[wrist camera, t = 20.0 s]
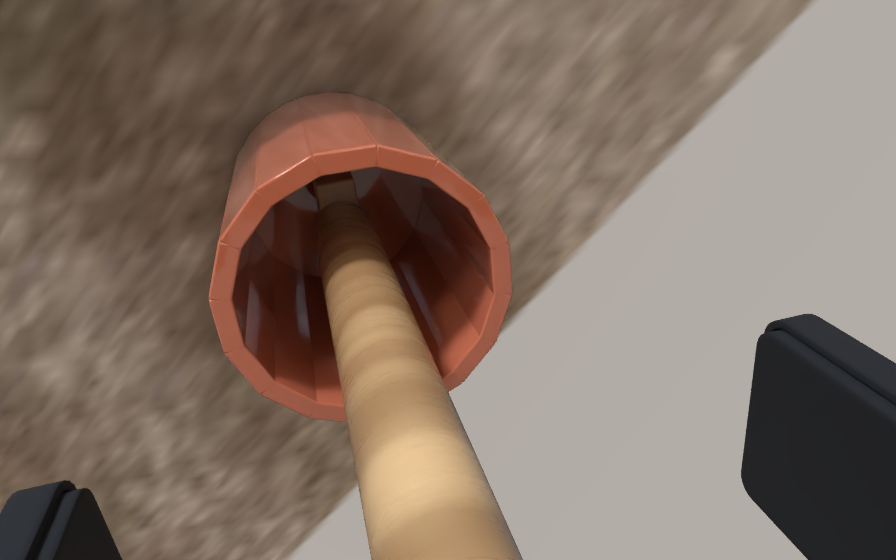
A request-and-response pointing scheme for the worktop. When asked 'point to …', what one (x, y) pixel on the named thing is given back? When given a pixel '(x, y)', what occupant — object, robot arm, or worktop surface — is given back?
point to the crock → (399, 229)
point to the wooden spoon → (398, 403)
